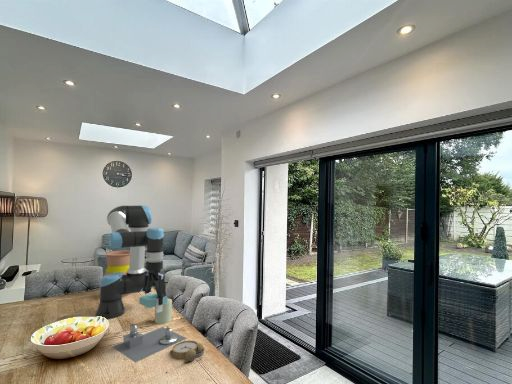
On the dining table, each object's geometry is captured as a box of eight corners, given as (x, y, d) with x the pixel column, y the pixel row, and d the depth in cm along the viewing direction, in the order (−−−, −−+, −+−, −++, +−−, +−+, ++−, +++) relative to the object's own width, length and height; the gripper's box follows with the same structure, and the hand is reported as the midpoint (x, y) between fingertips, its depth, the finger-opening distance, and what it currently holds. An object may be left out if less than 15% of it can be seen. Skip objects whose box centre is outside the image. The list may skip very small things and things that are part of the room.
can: (166, 326, 147) (167, 303, 148) (151, 324, 149) (151, 302, 150) (174, 319, 156) (175, 298, 157) (160, 318, 158) (160, 296, 159)
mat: (112, 348, 124) (112, 346, 124) (162, 328, 145) (162, 327, 145) (135, 364, 112) (135, 362, 112) (186, 340, 132) (187, 338, 132)
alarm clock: (184, 338, 128) (209, 340, 121) (185, 350, 127) (211, 352, 121) (165, 350, 118) (192, 352, 111) (167, 362, 117) (194, 365, 111)
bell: (155, 341, 129) (156, 327, 130) (170, 335, 136) (170, 321, 136) (166, 346, 124) (166, 332, 125) (180, 340, 131) (180, 326, 131)
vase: (94, 298, 191) (96, 254, 192) (115, 289, 212) (117, 249, 214) (123, 300, 187) (124, 255, 189) (141, 290, 209) (143, 250, 210)
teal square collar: (139, 303, 128) (139, 297, 128) (157, 298, 135) (157, 292, 135) (149, 308, 122) (149, 301, 123) (167, 302, 129) (167, 296, 130)
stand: (123, 344, 126) (123, 325, 126) (135, 339, 131) (136, 321, 131) (129, 348, 122) (130, 329, 123) (142, 343, 127) (143, 324, 128)
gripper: (135, 259, 134) (134, 306, 133) (160, 265, 120) (158, 317, 119) (149, 257, 140) (148, 302, 138) (174, 262, 126) (173, 312, 125)
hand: (153, 309), depth 129 cm, fingers closed on teal square collar, 9 cm apart
